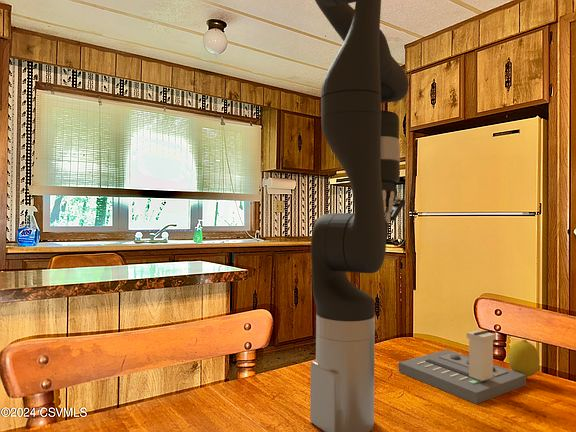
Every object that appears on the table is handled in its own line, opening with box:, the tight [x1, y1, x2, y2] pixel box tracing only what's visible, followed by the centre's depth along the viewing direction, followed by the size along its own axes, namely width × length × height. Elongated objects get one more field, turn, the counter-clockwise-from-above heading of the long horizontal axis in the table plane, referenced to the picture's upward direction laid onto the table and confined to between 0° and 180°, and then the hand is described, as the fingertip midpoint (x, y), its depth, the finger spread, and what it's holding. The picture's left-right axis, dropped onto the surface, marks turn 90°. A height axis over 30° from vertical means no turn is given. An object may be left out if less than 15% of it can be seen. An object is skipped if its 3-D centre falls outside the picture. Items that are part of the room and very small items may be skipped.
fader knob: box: [466, 329, 497, 381], centre depth 80 cm, size 4×3×8 cm
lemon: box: [507, 338, 541, 379], centre depth 86 cm, size 6×6×8 cm
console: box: [398, 349, 527, 405], centre depth 86 cm, size 16×18×3 cm
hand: (380, 240), depth 91 cm, fingers closed
